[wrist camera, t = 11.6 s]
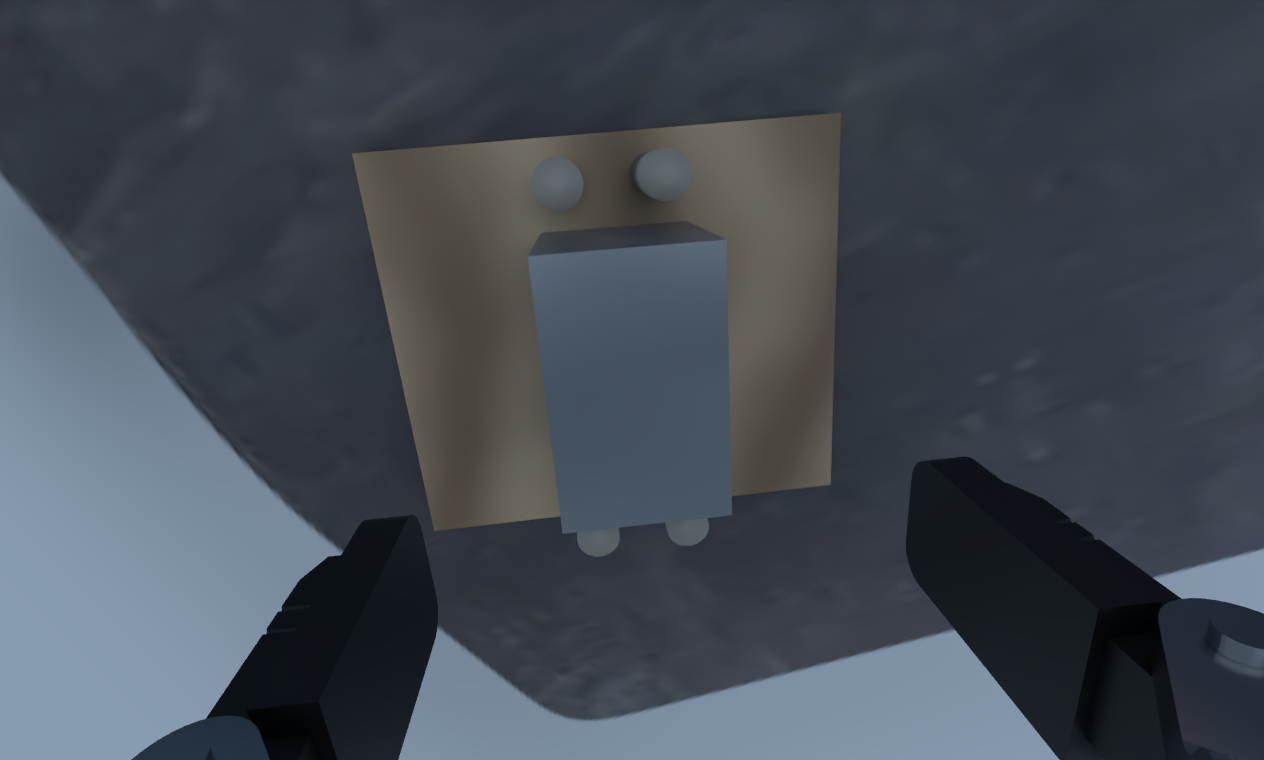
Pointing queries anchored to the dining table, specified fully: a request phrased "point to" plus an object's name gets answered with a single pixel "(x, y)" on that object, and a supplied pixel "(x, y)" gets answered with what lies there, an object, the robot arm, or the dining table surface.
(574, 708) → the dining table surface
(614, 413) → the grey rectangular block
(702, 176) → the tray
